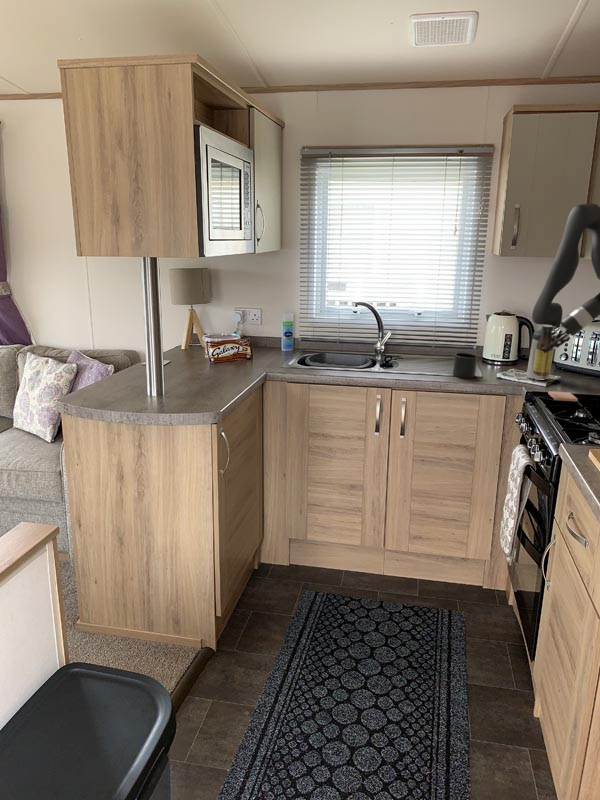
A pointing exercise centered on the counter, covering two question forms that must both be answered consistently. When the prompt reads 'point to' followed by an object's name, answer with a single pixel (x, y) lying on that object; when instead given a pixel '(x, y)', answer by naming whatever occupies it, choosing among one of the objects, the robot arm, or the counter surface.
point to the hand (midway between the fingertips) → (540, 349)
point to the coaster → (562, 396)
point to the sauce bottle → (541, 358)
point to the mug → (465, 365)
